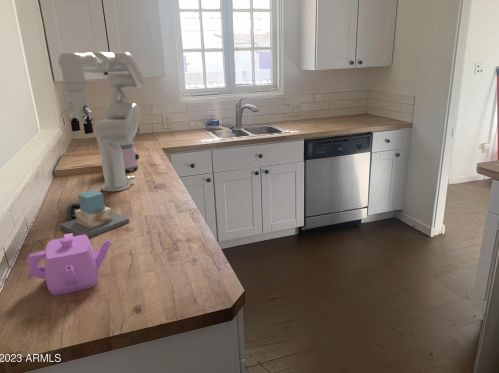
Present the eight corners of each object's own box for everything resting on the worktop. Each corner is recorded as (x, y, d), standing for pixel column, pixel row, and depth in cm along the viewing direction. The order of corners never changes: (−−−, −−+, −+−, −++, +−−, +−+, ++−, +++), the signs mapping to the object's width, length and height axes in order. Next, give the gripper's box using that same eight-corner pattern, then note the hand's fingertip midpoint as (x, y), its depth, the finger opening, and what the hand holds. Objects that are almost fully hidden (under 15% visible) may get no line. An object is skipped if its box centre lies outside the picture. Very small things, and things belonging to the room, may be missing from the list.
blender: (111, 172, 208) (102, 111, 197) (118, 166, 219) (110, 108, 209) (140, 172, 207) (133, 111, 197) (147, 165, 219) (140, 107, 209)
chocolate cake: (93, 210, 158) (66, 195, 151) (101, 209, 154) (74, 194, 146) (82, 232, 154) (54, 218, 147) (90, 231, 150) (62, 217, 142)
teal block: (96, 205, 145) (93, 190, 144) (105, 208, 142) (102, 193, 140) (80, 210, 141) (78, 194, 139) (89, 214, 137) (86, 198, 136)
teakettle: (73, 260, 119) (65, 222, 115) (119, 269, 113) (113, 230, 109) (24, 291, 104) (14, 249, 100) (75, 303, 98) (66, 259, 94)
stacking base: (105, 212, 155) (103, 198, 153) (129, 222, 145) (127, 207, 143) (60, 227, 142) (57, 212, 140) (83, 239, 132) (80, 223, 130)
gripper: (54, 87, 151) (62, 131, 156) (77, 88, 140) (84, 136, 146) (73, 85, 156) (80, 128, 162) (96, 87, 146) (103, 132, 151)
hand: (82, 132), depth 154 cm, fingers open, 9 cm apart
